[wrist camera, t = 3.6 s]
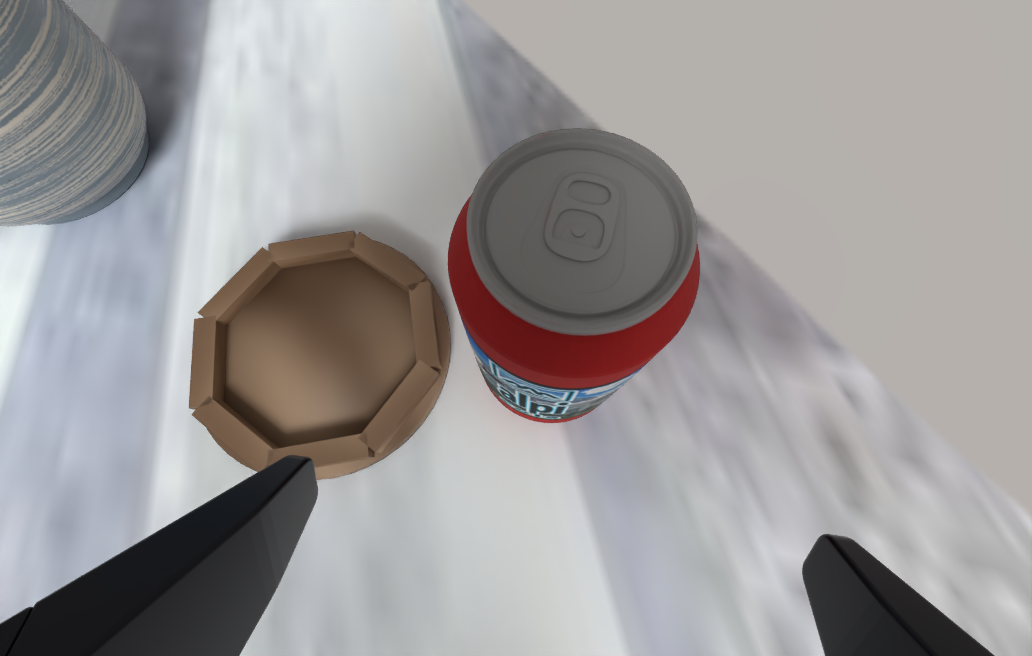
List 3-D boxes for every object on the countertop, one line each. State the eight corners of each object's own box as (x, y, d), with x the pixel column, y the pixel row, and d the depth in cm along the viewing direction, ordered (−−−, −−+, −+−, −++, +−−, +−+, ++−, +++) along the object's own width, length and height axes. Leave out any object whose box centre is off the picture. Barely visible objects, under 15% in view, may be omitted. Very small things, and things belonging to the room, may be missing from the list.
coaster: (336, 537, 19) (320, 543, 17) (151, 380, 21) (123, 373, 20) (498, 322, 22) (497, 311, 21) (322, 205, 24) (309, 187, 23)
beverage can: (461, 403, 21) (391, 314, 9) (502, 277, 23) (485, 81, 12) (601, 443, 20) (707, 401, 9) (630, 311, 22) (746, 137, 11)
